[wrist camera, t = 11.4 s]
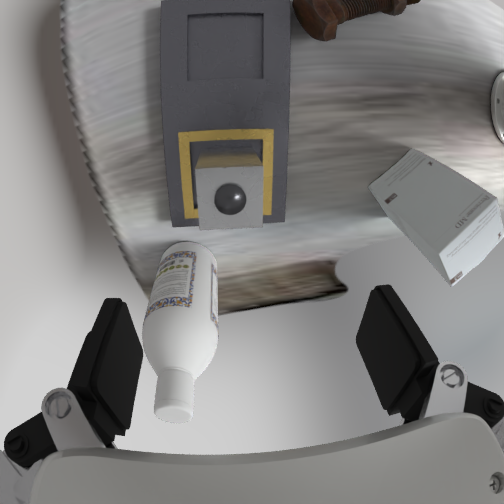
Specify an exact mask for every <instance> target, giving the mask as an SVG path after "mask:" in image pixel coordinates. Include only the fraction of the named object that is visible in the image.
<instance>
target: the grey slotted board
mask: <svg viewBox="0 0 504 504" xmlns="http://www.w3.org/2000/svg"><path fill="white" fill-rule="evenodd" d="M160 68H161V102H162V122H163V138H164V152H165V164H166V175H167V185H168V194H169V203H170V212H171V220H172V227H187V226H199V216H198V204H197V190H196V176H195V168H196V165H197V162H198V158H199V155H200V152H201V150H202V149H211V148H235V147H253V149H254V151H255V152H256V154H257V156H258V157H259V159H260V161H261V163H262V164H263V166H264V173H263V223H274V222H285V204H286V184H287V162H288V135H289V99H290V0H164V1H161V33H160Z"/></svg>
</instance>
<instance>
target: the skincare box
mask: <svg viewBox="0 0 504 504" xmlns="http://www.w3.org/2000/svg"><path fill="white" fill-rule="evenodd" d="M368 188H369V189H370V191H371V192H372V194H373V195H374V197H375V198H376V200H377V201H378V203H379V204H380V206H381V207H382V209H383V210H384V212H385V213H386V215H387V216H388V218H389V219H390V220H391V221H392V222H393V223H394V224H395V225H396V226H397V227H398V228H399V229H400V230H401V231H402V232H403V233H404V234H405V235H406V236H407V237H408V238H409V239H410V240H411V242H413V244H414V245H415V246H416V247H417V248H418V249H419V250H420V251H421V253H422V254H423V255H424V256H425V257H426V258H427V259H428V260H429V262H430V263H431V264H432V265H433V266H434V267H435V268H436V270H437V271H438V272H439V273H440V274H441V276H442V277H443V278H444V279H445V280H446V282H447V283H448V284H449V285H450V286H451V287H452V286H453V285H455V284H456V283H457V282H458V281H459V280H460V279H461V278H462V277H464V276H465V275H466V274H467V273H468V272H469V271H470V270H471V269H473V268H474V267H476V266H477V265H478V264H479V263H481V262H482V261H483V259H484V258H485V257H486V256H487V254H488V253H489V252H490V251H491V250H492V249H493V248H494V247H495V246H496V245H497V244H498V243H499V242H500V241H501V239H502V238H503V237H504V230H503V224H502V219H501V214H500V208H499V203H498V199H497V198H496V197H495V196H493V195H492V194H490V193H489V192H488V191H486V190H485V189H483V188H482V187H480V186H478V185H477V184H475V183H474V182H472V181H471V180H469V179H467V178H466V177H464V176H463V175H461V174H459V173H458V172H456V171H454V170H452V169H451V168H449V167H447V166H446V165H444V164H442V163H440V162H438V161H437V160H435V159H433V158H431V157H429V156H427V155H426V154H424V153H422V152H420V151H418V150H416V149H410V150H409V151H408V152H407V154H406V155H405V156H404V157H403V158H402V159H400V160H399V161H398V162H397V163H396V164H395V165H394V166H393V167H391V168H390V169H389V170H388V171H387V172H385V173H384V174H383V175H382V176H381V177H379V178H378V179H377V180H375V181H374V182H372V183H371V184H370V185H369V187H368Z"/></svg>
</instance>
